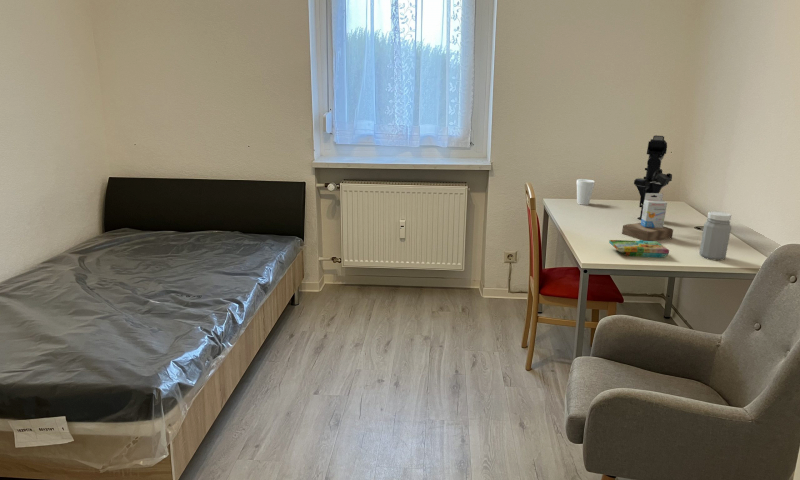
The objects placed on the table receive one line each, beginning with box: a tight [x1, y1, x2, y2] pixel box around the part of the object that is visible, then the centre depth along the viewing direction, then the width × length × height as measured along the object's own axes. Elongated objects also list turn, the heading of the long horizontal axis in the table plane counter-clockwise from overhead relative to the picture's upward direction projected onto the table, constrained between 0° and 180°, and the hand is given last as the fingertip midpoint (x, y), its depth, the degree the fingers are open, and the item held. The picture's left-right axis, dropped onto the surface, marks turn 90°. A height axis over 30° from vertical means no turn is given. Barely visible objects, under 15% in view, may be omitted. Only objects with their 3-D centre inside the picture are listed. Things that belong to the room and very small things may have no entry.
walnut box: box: [621, 222, 674, 242], centre depth 273 cm, size 16×14×5 cm
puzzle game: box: [608, 239, 670, 258], centre depth 246 cm, size 12×5×20 cm
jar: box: [699, 211, 732, 261], centre depth 243 cm, size 10×10×18 cm
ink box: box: [640, 192, 668, 228], centre depth 271 cm, size 8×5×15 cm, turn 92°
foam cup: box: [576, 178, 596, 206], centre depth 335 cm, size 10×9×13 cm
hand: (648, 199), depth 289 cm, fingers open, 9 cm apart
